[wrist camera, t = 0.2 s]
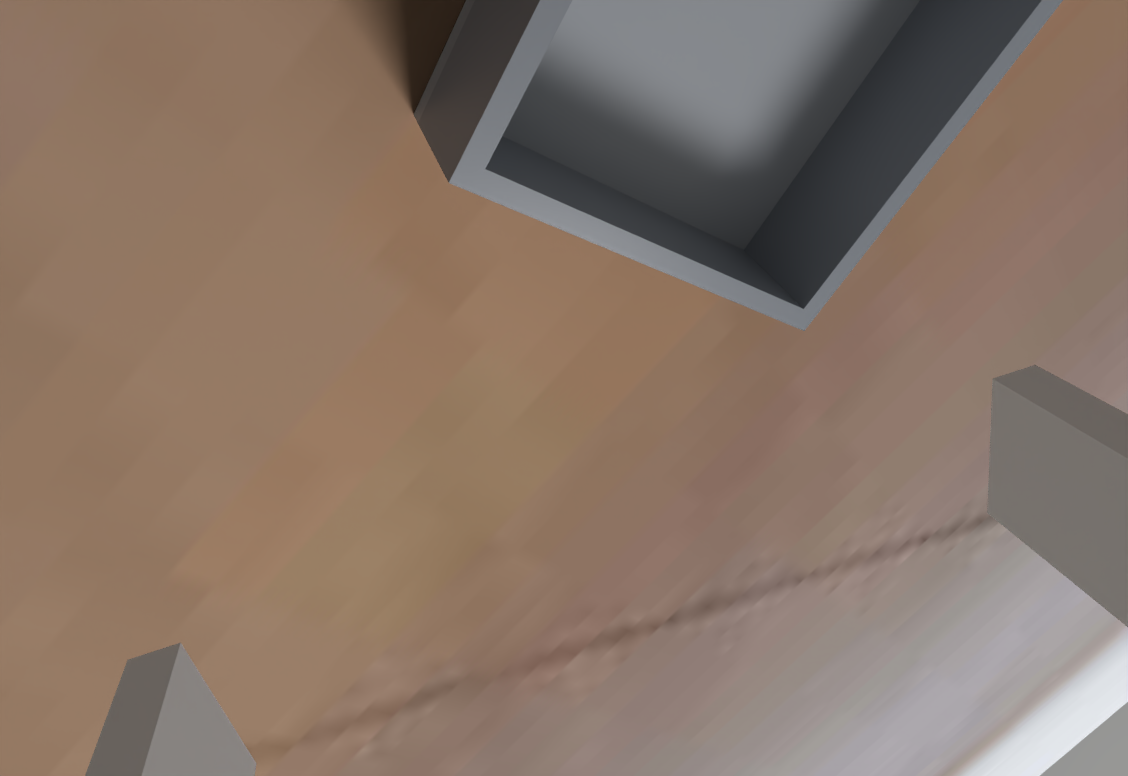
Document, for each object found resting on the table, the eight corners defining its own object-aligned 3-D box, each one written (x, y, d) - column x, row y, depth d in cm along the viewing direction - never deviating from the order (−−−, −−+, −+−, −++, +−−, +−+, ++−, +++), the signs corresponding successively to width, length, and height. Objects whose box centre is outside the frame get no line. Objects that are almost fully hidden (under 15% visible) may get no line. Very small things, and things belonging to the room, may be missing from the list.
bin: (672, -450, 25) (787, -496, 20) (992, -100, 36) (1119, -72, 31) (413, 114, 34) (448, 182, 29) (736, 262, 45) (804, 330, 40)
